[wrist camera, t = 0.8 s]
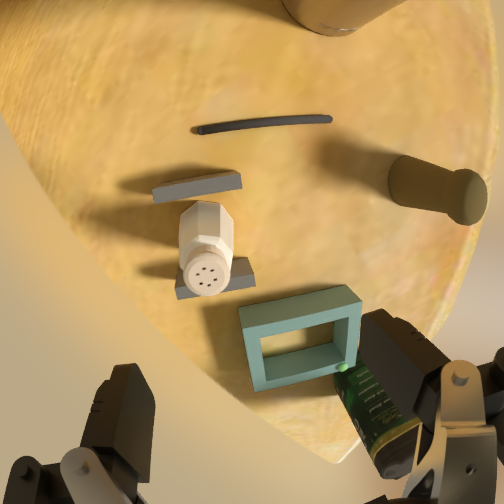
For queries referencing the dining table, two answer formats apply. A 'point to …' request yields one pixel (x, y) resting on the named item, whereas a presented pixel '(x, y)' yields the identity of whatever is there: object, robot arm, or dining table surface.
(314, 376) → the frame
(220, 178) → the pair of grey blocks
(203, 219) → the pepper shaker
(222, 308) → the dining table surface
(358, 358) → the coffee jar
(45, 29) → the dining table surface
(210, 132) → the thin black rod
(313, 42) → the dining table surface
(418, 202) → the pepper shaker
